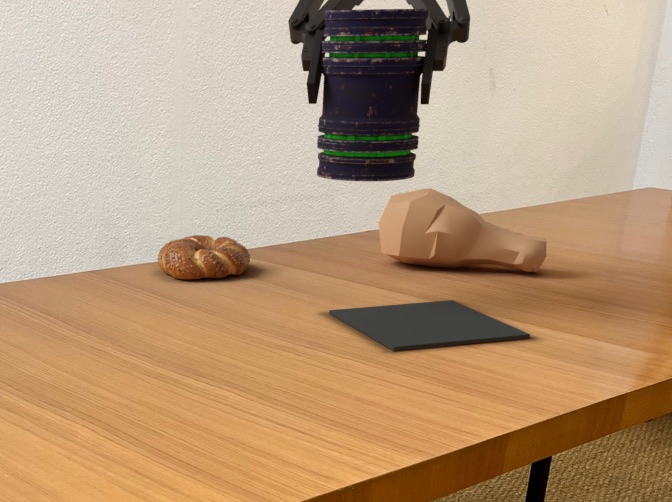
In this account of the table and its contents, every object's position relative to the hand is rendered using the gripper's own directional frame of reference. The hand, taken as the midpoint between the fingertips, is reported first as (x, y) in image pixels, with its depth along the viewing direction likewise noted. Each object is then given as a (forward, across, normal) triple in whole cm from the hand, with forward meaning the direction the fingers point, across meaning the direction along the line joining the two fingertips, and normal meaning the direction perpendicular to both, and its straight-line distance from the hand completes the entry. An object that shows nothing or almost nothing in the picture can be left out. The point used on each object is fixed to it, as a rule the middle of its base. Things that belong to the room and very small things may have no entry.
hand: (367, 94), depth 99 cm
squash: (-2, -10, -32) cm, 33 cm away
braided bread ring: (+5, +20, -25) cm, 32 cm away
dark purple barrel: (+3, 0, -8) cm, 9 cm away
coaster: (+18, -8, -12) cm, 22 cm away
